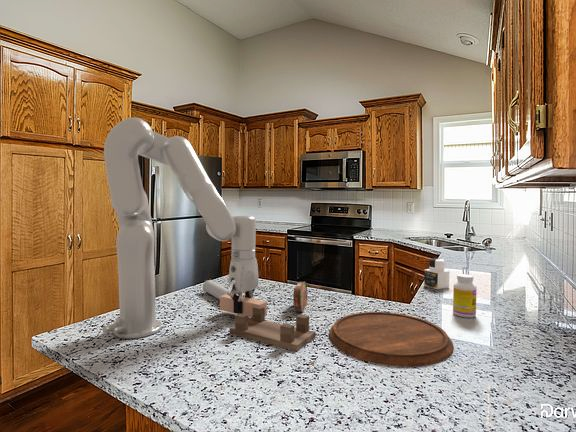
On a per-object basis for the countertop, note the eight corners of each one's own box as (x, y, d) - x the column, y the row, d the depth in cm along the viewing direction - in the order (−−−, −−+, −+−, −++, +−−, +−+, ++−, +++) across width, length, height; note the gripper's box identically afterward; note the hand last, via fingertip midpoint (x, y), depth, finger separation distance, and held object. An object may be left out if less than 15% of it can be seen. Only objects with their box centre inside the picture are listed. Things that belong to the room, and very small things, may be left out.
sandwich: (301, 315, 111) (301, 289, 111) (292, 314, 112) (292, 289, 111) (308, 301, 126) (308, 279, 126) (299, 301, 127) (299, 278, 126)
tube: (245, 295, 121) (216, 281, 142) (232, 292, 118) (204, 278, 139) (241, 310, 121) (212, 293, 141) (227, 308, 118) (200, 291, 138)
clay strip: (259, 319, 104) (259, 304, 104) (219, 309, 112) (219, 296, 112) (266, 315, 107) (266, 301, 107) (227, 306, 116) (228, 293, 116)
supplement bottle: (475, 319, 106) (476, 278, 106) (451, 316, 110) (452, 276, 109) (476, 313, 112) (477, 274, 111) (454, 310, 116) (455, 272, 115)
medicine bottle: (423, 285, 148) (424, 258, 148) (435, 283, 151) (436, 257, 151) (437, 289, 142) (437, 260, 141) (449, 287, 145) (450, 259, 144)
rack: (297, 351, 85) (297, 329, 85) (229, 333, 97) (229, 314, 96) (315, 337, 94) (315, 317, 93) (251, 322, 105) (251, 304, 105)
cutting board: (310, 326, 102) (310, 318, 102) (398, 313, 114) (398, 306, 114) (372, 379, 73) (372, 367, 72) (483, 354, 84) (483, 344, 84)
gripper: (235, 259, 100) (234, 321, 101) (268, 252, 114) (267, 306, 115) (216, 256, 104) (215, 316, 105) (250, 250, 118) (249, 303, 119)
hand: (242, 310), depth 110 cm, fingers closed on clay strip, 4 cm apart
